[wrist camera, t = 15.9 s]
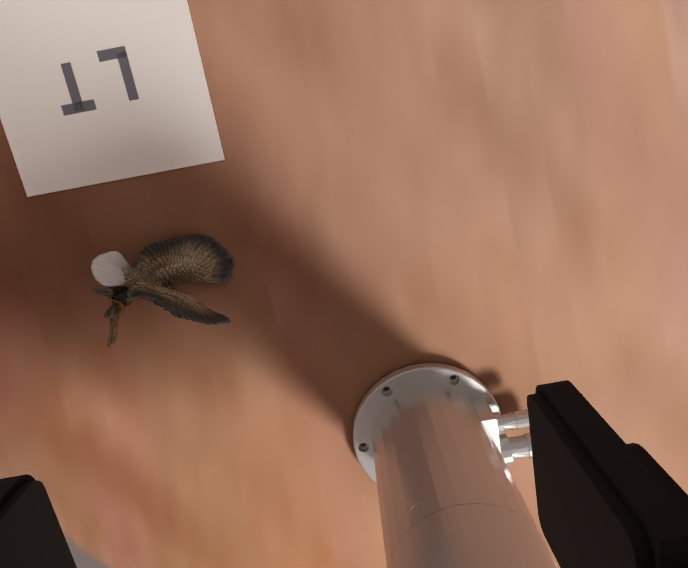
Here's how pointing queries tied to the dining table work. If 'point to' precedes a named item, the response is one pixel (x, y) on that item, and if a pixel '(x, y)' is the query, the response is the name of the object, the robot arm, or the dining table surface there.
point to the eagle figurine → (163, 278)
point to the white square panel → (102, 91)
